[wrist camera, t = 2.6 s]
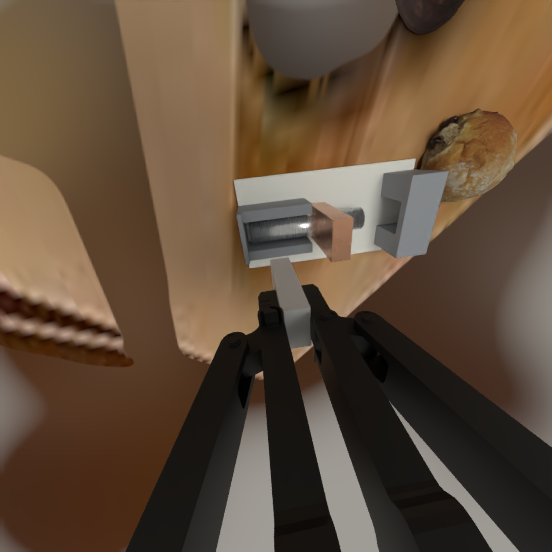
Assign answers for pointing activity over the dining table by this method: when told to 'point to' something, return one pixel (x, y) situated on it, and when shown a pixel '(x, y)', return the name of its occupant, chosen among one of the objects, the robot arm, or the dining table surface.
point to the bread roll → (472, 153)
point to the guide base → (344, 194)
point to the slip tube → (315, 229)
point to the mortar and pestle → (426, 13)
